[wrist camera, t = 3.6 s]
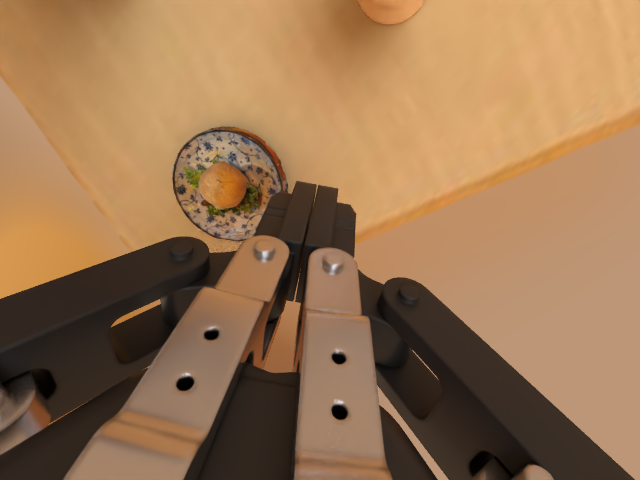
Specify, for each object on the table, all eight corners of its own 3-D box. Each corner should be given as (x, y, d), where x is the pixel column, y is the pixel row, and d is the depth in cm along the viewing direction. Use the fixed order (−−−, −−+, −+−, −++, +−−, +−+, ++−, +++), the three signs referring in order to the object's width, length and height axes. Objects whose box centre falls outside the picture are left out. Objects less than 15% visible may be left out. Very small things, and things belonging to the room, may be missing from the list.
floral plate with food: (159, 170, 38) (111, 188, 31) (236, 100, 34) (202, 102, 27) (231, 255, 41) (202, 288, 34) (311, 199, 37) (296, 223, 30)
